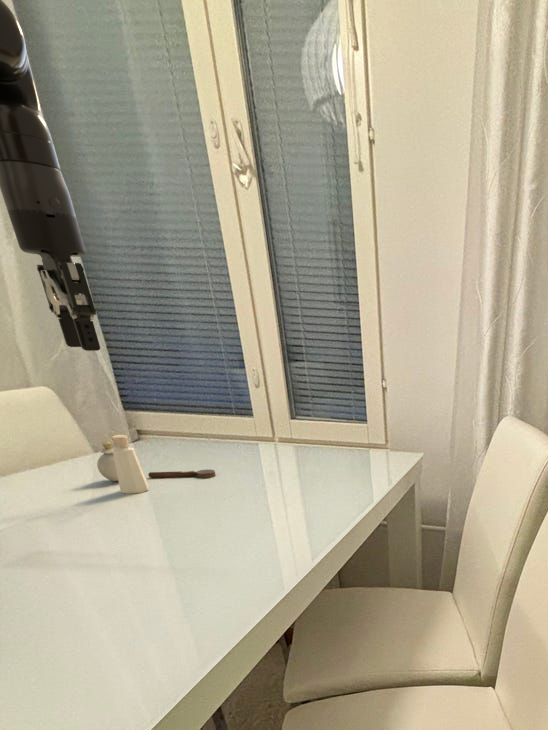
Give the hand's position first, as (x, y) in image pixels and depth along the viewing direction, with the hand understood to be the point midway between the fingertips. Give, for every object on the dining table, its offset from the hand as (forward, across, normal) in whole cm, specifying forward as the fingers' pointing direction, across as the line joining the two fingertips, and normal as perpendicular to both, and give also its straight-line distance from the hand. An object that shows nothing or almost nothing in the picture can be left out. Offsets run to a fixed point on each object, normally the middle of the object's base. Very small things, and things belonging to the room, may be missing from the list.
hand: (83, 348), depth 81 cm
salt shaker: (+28, -26, +7) cm, 39 cm away
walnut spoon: (+28, -32, +19) cm, 46 cm away
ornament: (+28, -38, +7) cm, 48 cm away
